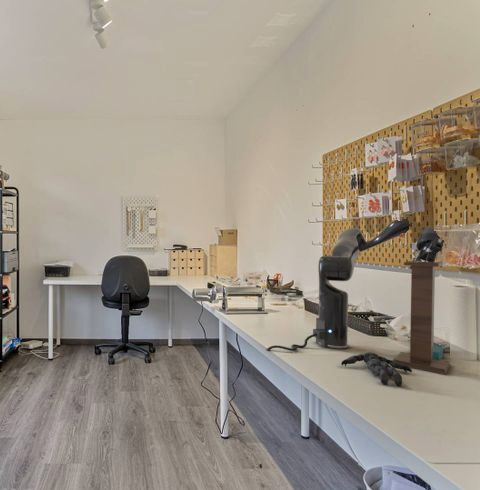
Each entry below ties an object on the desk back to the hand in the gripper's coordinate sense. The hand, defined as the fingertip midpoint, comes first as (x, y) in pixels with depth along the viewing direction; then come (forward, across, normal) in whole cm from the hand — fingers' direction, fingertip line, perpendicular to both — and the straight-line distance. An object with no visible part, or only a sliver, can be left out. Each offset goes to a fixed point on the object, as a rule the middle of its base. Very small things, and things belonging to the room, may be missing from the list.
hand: (422, 268), depth 132 cm
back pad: (+24, +12, -14) cm, 30 cm away
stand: (+37, +2, -8) cm, 38 cm away
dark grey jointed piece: (+52, -5, +4) cm, 53 cm away
